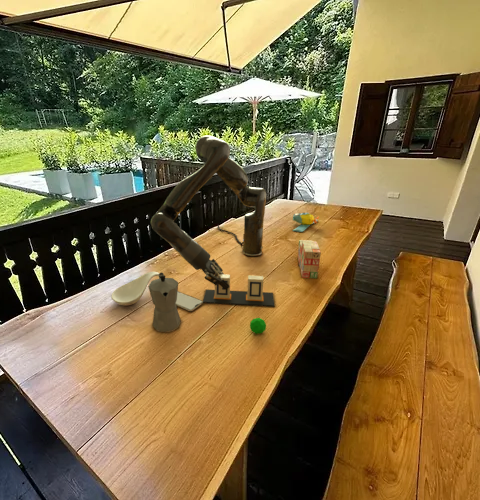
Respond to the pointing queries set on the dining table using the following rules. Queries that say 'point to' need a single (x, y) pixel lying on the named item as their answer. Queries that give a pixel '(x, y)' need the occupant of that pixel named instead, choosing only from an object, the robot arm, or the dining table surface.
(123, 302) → the spoon rest
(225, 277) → the cream oblong block
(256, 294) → the upright beige pillar
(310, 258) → the stack of blocks
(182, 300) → the smartphone
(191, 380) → the dining table surface
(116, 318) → the dining table surface
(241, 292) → the word mat
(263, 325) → the polyhedron
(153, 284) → the coffeepot
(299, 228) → the toy airplane
